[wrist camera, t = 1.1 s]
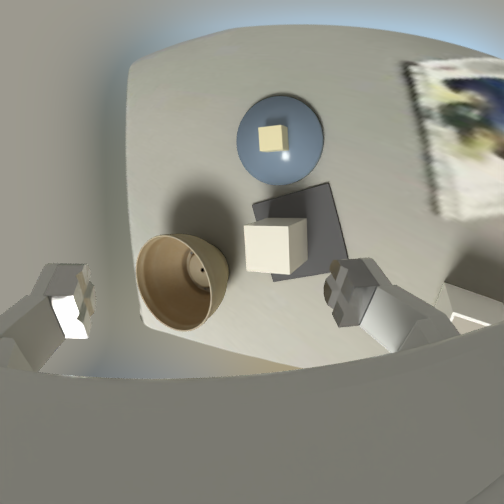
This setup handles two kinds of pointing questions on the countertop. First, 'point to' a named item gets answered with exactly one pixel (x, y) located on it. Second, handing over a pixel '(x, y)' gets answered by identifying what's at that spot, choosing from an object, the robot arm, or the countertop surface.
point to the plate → (299, 139)
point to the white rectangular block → (276, 245)
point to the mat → (309, 227)
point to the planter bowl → (181, 279)
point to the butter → (273, 138)
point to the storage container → (469, 305)
